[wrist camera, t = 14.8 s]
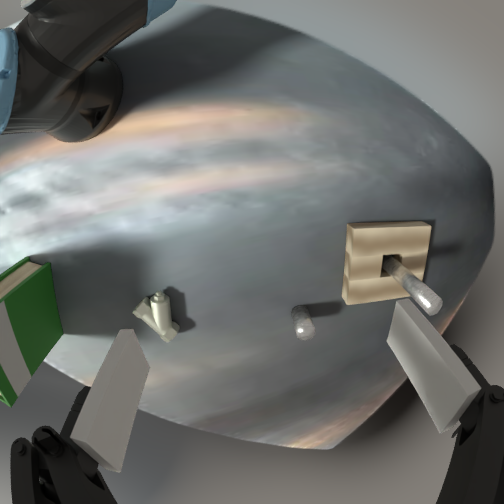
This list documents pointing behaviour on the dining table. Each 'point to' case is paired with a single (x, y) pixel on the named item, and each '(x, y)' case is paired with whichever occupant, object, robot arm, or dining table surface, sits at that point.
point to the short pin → (302, 322)
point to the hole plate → (371, 255)
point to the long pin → (412, 285)
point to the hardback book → (25, 324)
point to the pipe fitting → (158, 315)
